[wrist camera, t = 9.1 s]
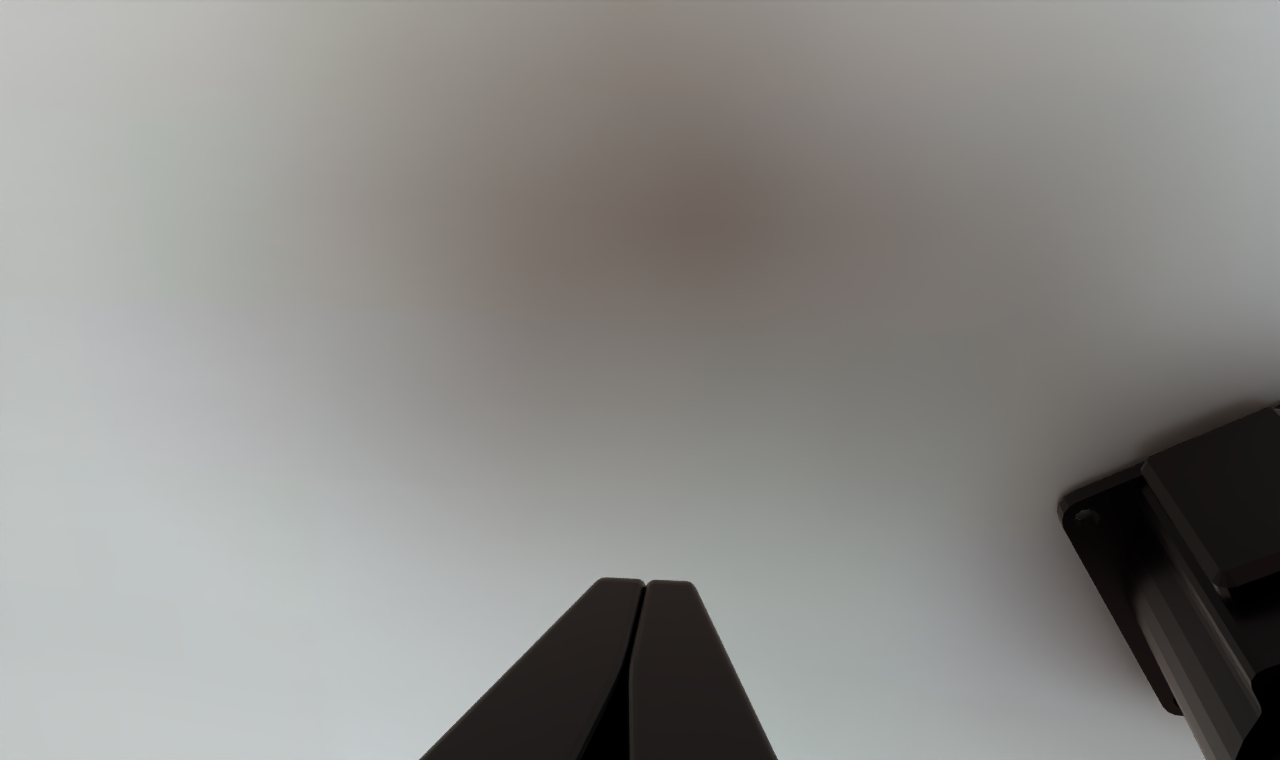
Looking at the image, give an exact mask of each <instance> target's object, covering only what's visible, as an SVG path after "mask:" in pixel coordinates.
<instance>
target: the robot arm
mask: <svg viewBox="0 0 1280 760" xmlns="http://www.w3.org/2000/svg"><path fill="white" fill-rule="evenodd" d="M1087 509H1090V510H1094V511H1093V513H1092V515H1091V516H1089V517H1088V518H1086V519H1076V518H1075V516H1076V514H1077V513H1079V512H1080V511H1082V510H1087ZM1057 513H1058V517H1059V520H1060V522H1061V524H1062V526H1063V528H1064V530H1065V532H1066V534H1067V536H1068V538H1069V539H1070V541H1071V543H1072V545H1073V546H1074V548H1075V550H1076V552H1077V554H1078V555H1079V557H1080V559H1081V561H1082V563H1083V564H1084V566H1085V568H1086V570H1087V572H1088V573H1089V575H1090V577H1091V579H1092V581H1093V582H1094V584H1095V586H1096V588H1097V589H1098V591H1099V593H1100V595H1101V597H1102V598H1103V600H1104V602H1105V604H1106V606H1107V607H1108V609H1109V611H1110V613H1111V615H1112V616H1113V618H1114V620H1115V622H1116V624H1117V625H1118V627H1119V629H1120V631H1121V632H1122V634H1123V636H1124V638H1125V640H1126V641H1127V643H1128V645H1129V647H1130V649H1131V650H1132V652H1133V654H1134V656H1135V658H1136V659H1137V661H1138V663H1139V665H1140V667H1141V668H1142V670H1143V672H1144V674H1145V675H1146V677H1147V679H1148V681H1149V683H1150V684H1151V686H1152V688H1153V690H1154V692H1155V693H1156V695H1157V697H1158V699H1159V701H1160V702H1161V704H1162V706H1163V707H1164V708H1165V709H1166V710H1167V712H1169V713H1172V714H1174V715H1179V716H1184V717H1185V719H1186V721H1187V723H1188V725H1189V727H1190V729H1191V731H1192V733H1193V735H1194V737H1195V739H1196V741H1197V742H1198V744H1199V746H1200V748H1201V750H1202V752H1203V754H1204V756H1205V758H1206V760H1280V405H1278V406H1276V407H1274V408H1265V409H1262V410H1260V411H1258V412H1255V413H1253V414H1250V415H1248V416H1246V417H1243V418H1241V419H1238V420H1236V421H1234V422H1231V423H1229V424H1227V425H1224V426H1222V427H1219V428H1217V429H1215V430H1212V431H1210V432H1207V433H1205V434H1203V435H1200V436H1198V437H1196V438H1193V439H1191V440H1188V441H1186V442H1184V443H1181V444H1179V445H1176V446H1174V447H1172V448H1169V449H1167V450H1165V451H1162V452H1160V453H1157V454H1155V455H1153V456H1150V457H1149V458H1148V459H1147V460H1146V461H1145V462H1142V463H1140V464H1137V465H1135V466H1133V467H1130V468H1128V469H1125V470H1123V471H1121V472H1118V473H1116V474H1114V475H1111V476H1109V477H1106V478H1104V479H1102V480H1099V481H1097V482H1094V483H1092V484H1090V485H1087V486H1085V487H1082V488H1080V489H1078V490H1075V491H1073V492H1071V493H1069V494H1068V495H1066V496H1065V497H1064V498H1063V499H1062V500H1061V501H1060V503H1059V505H1058V509H1057ZM419 760H778V759H777V757H776V755H775V753H774V751H773V749H772V746H771V744H770V742H769V740H768V738H767V736H766V734H765V732H764V730H763V728H762V726H761V723H760V721H759V719H758V717H757V715H756V713H755V711H754V709H753V707H752V705H751V702H750V700H749V698H748V696H747V694H746V692H745V690H744V688H743V686H742V684H741V681H740V679H739V677H738V675H737V673H736V671H735V669H734V667H733V665H732V663H731V661H730V658H729V656H728V654H727V652H726V650H725V648H724V646H723V644H722V642H721V640H720V637H719V635H718V633H717V631H716V629H715V627H714V625H713V623H712V621H711V619H710V616H709V614H708V612H707V610H706V608H705V606H704V604H703V602H702V600H701V598H700V596H699V593H698V591H697V589H696V587H695V586H694V585H693V584H692V583H691V582H688V581H671V580H652V581H650V582H649V583H648V584H647V585H645V583H644V582H643V581H642V580H640V579H629V578H609V577H606V578H601V579H599V580H597V581H596V582H595V583H594V584H593V585H592V586H591V587H590V588H589V589H588V590H587V591H586V592H585V593H584V594H583V595H582V596H581V597H580V598H579V599H578V600H577V601H576V602H575V603H574V604H573V605H572V606H571V607H570V608H569V609H568V610H567V611H566V612H565V613H564V614H563V615H562V616H561V617H560V618H559V619H558V620H557V621H556V622H555V623H554V624H553V625H552V626H551V627H550V628H549V629H548V630H547V631H546V632H545V633H544V634H543V635H542V636H541V637H540V639H539V640H538V641H537V642H536V643H535V644H534V645H533V646H532V647H531V648H530V649H529V650H528V651H527V652H526V653H525V654H524V655H523V656H522V657H521V658H520V659H519V660H518V661H517V662H516V663H515V664H514V665H513V666H512V667H511V668H510V669H509V670H508V671H507V672H506V673H505V674H504V675H503V676H502V677H501V678H500V679H499V680H498V681H497V682H496V683H495V684H494V685H493V686H492V687H491V688H490V689H489V690H488V691H487V692H486V693H485V694H484V695H483V696H482V697H481V698H480V699H479V700H478V701H477V702H476V703H475V704H474V705H473V706H472V707H471V708H470V709H469V710H468V711H467V712H466V713H465V714H464V715H463V716H462V717H461V718H460V719H459V720H458V721H457V722H456V723H455V724H454V725H453V726H452V727H451V728H450V729H449V730H448V731H447V732H446V733H445V734H444V735H443V736H442V737H441V738H440V739H439V740H438V741H437V742H436V743H435V744H434V745H433V746H432V747H431V748H430V749H429V750H428V751H427V752H426V753H425V754H424V755H423V756H422V757H421V758H420V759H419Z"/></svg>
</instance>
